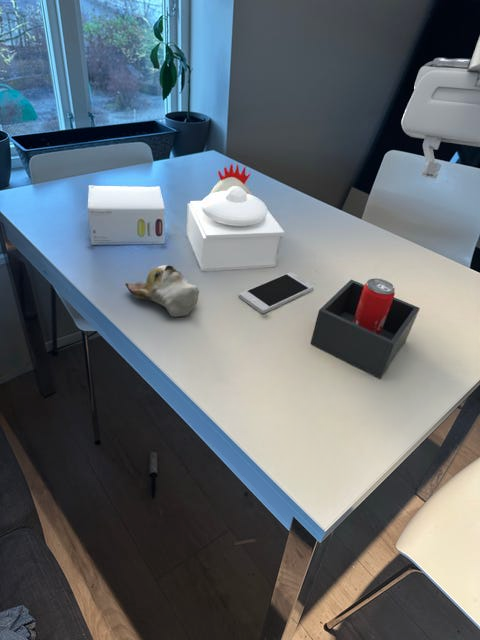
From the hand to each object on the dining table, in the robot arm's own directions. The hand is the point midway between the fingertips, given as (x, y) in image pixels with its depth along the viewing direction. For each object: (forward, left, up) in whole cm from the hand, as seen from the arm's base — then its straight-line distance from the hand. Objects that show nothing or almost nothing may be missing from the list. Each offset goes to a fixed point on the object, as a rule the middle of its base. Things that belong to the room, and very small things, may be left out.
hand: (466, 184), depth 55 cm
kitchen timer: (+56, -31, -34) cm, 72 cm away
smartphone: (+28, -10, -34) cm, 45 cm away
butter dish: (+46, -18, -34) cm, 60 cm away
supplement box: (+69, -7, -34) cm, 77 cm away
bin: (+8, -7, -34) cm, 36 cm away
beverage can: (+7, -7, -34) cm, 35 cm away
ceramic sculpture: (+42, +8, -34) cm, 55 cm away
